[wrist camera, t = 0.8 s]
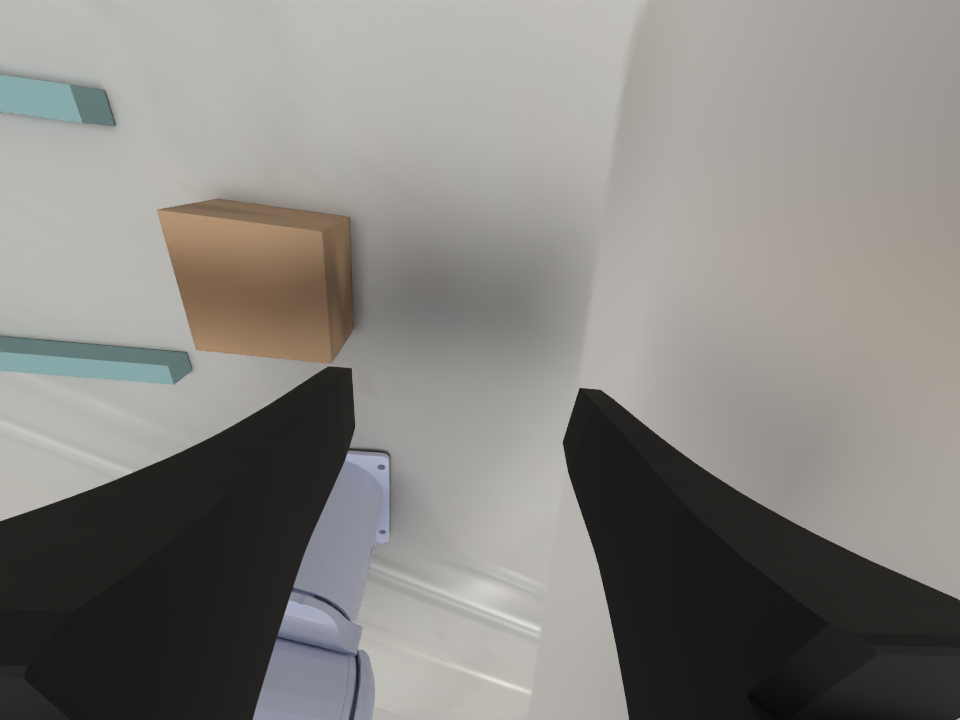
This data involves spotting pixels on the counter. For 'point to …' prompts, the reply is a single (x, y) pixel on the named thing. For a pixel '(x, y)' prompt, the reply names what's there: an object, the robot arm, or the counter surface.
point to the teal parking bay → (68, 356)
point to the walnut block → (262, 278)
